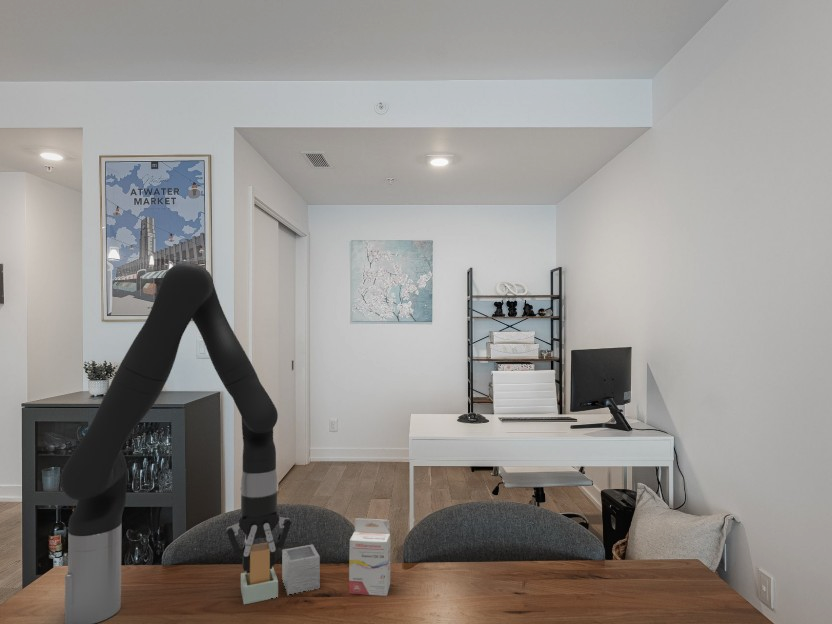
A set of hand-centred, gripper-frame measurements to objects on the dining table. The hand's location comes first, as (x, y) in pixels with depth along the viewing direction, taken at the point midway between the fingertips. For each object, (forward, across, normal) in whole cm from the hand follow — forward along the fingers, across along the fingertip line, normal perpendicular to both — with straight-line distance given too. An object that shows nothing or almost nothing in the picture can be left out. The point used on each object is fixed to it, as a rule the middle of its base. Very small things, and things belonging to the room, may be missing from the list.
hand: (259, 569), depth 113 cm
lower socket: (+5, 0, 0) cm, 5 cm away
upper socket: (+5, +9, 0) cm, 10 cm away
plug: (+3, 0, 0) cm, 3 cm away
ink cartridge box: (+5, +22, -8) cm, 25 cm away
